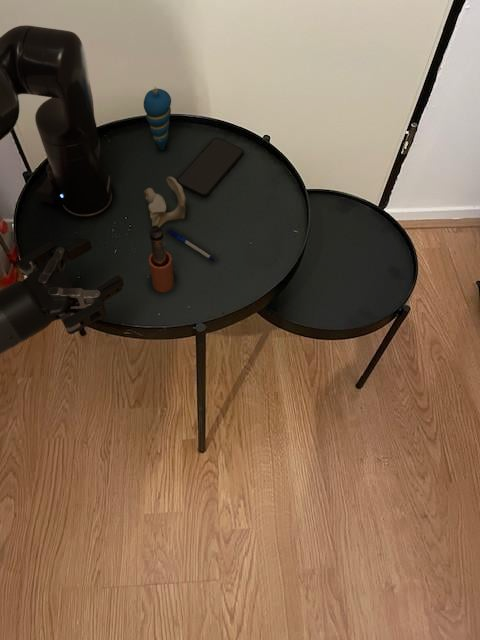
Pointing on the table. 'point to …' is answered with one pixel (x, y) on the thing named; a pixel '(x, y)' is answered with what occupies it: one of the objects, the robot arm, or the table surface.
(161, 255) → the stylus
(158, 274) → the pen cup
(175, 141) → the table surface
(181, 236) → the ballpoint pen
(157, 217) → the bone
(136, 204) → the table surface
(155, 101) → the ornament
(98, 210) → the robot arm
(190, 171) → the smartphone
